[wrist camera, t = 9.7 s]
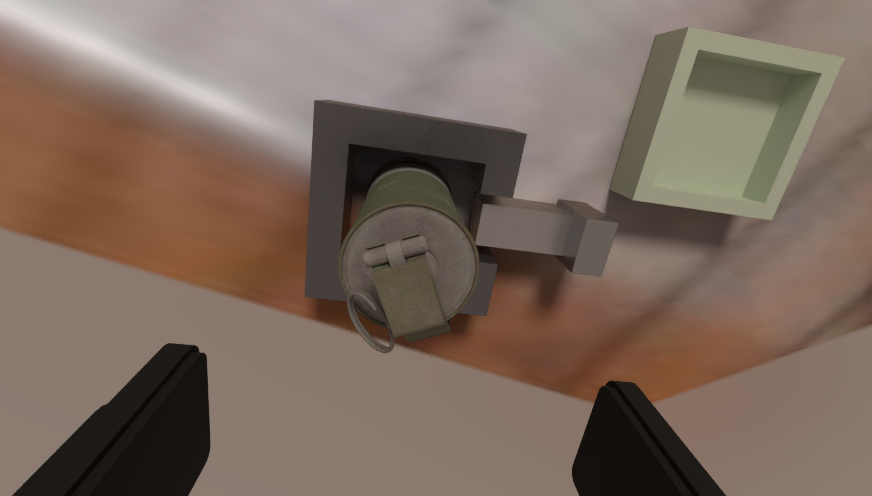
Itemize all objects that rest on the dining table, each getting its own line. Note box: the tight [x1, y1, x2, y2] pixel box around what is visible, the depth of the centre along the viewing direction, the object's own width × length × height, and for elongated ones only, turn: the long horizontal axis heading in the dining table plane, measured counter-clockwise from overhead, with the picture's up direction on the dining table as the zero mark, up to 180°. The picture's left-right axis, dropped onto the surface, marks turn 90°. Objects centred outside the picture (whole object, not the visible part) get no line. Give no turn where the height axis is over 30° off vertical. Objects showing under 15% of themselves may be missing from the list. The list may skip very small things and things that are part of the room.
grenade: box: [338, 158, 480, 353], centre depth 22 cm, size 6×6×15 cm
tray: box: [610, 27, 845, 220], centre depth 26 cm, size 10×10×3 cm
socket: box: [305, 100, 527, 316], centre depth 27 cm, size 12×12×4 cm
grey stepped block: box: [469, 193, 619, 277], centre depth 27 cm, size 8×4×5 cm, turn 81°
